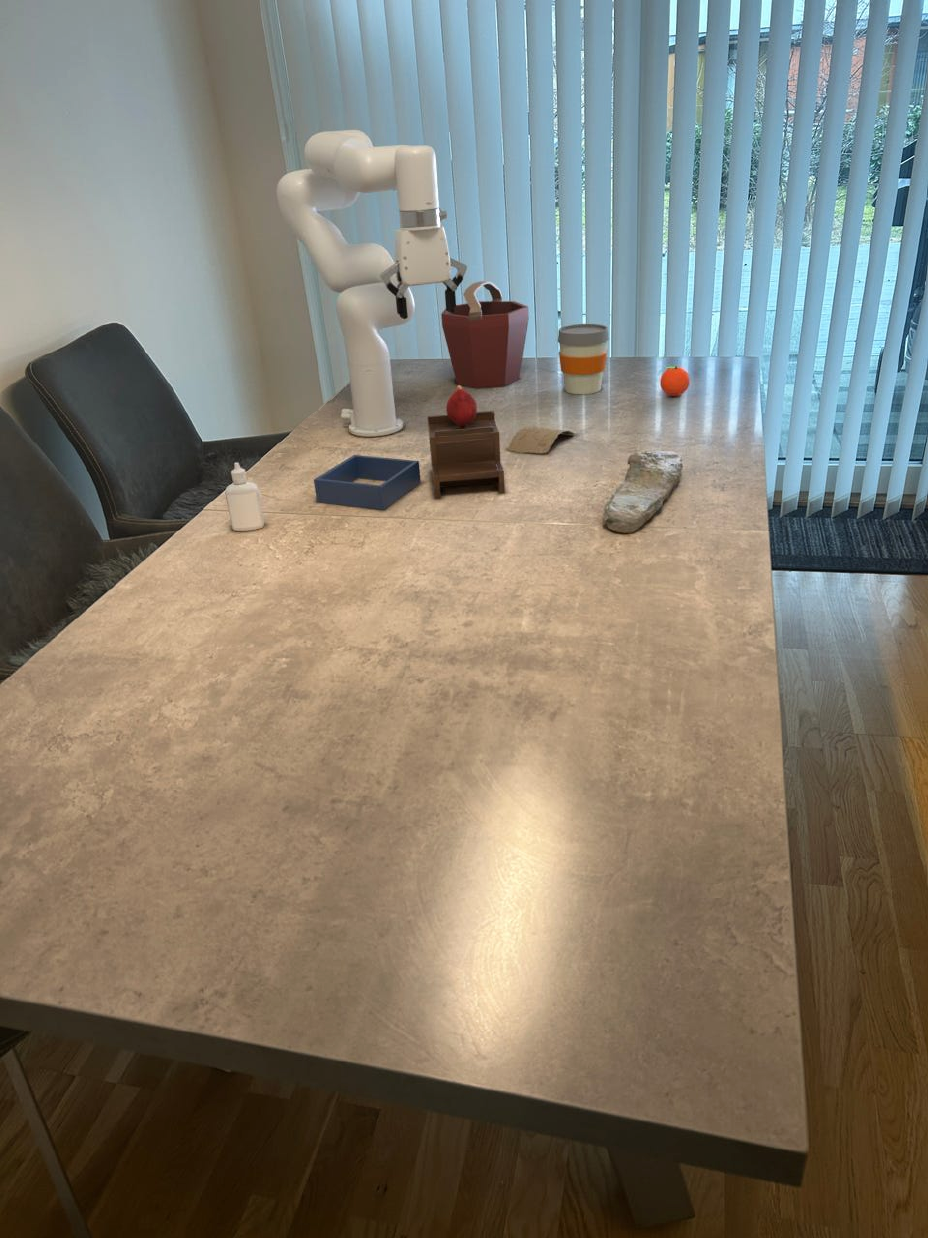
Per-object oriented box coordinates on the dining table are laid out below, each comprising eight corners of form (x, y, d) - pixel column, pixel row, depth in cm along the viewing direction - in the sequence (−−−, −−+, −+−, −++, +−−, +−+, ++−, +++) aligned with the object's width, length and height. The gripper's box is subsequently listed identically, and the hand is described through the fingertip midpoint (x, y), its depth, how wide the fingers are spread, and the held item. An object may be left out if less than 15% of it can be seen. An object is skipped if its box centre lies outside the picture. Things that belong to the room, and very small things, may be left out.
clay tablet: (548, 455, 183) (547, 442, 182) (505, 449, 188) (504, 437, 186) (577, 435, 193) (577, 423, 192) (536, 430, 198) (536, 418, 197)
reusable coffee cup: (553, 385, 231) (553, 325, 224) (601, 381, 232) (602, 321, 225) (563, 397, 220) (563, 335, 213) (613, 393, 221) (614, 331, 214)
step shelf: (504, 493, 166) (502, 433, 160) (435, 499, 165) (430, 439, 160) (496, 466, 179) (493, 410, 173) (432, 472, 178) (427, 415, 173)
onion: (482, 424, 171) (480, 382, 167) (470, 432, 166) (467, 390, 163) (455, 422, 173) (452, 380, 169) (442, 430, 169) (439, 388, 165)
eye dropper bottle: (255, 533, 156) (242, 468, 150) (228, 530, 158) (215, 466, 152) (268, 524, 159) (257, 460, 154) (242, 521, 161) (230, 457, 156)
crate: (317, 502, 168) (313, 479, 165) (356, 476, 179) (354, 454, 177) (384, 510, 162) (381, 486, 160) (421, 482, 173) (419, 460, 171)
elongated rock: (587, 537, 149) (646, 547, 145) (589, 509, 146) (649, 518, 142) (640, 459, 175) (691, 466, 172) (642, 434, 172) (693, 440, 169)
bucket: (496, 395, 226) (491, 292, 214) (425, 387, 237) (417, 289, 225) (542, 372, 244) (540, 275, 232) (475, 366, 255) (469, 273, 243)
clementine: (650, 397, 216) (652, 367, 212) (662, 390, 221) (664, 361, 217) (682, 400, 212) (683, 370, 208) (693, 393, 217) (695, 364, 213)
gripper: (456, 214, 172) (461, 306, 180) (370, 223, 167) (379, 317, 176) (469, 216, 166) (474, 312, 174) (380, 225, 161) (390, 323, 169)
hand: (427, 314), depth 175 cm, fingers open, 9 cm apart
